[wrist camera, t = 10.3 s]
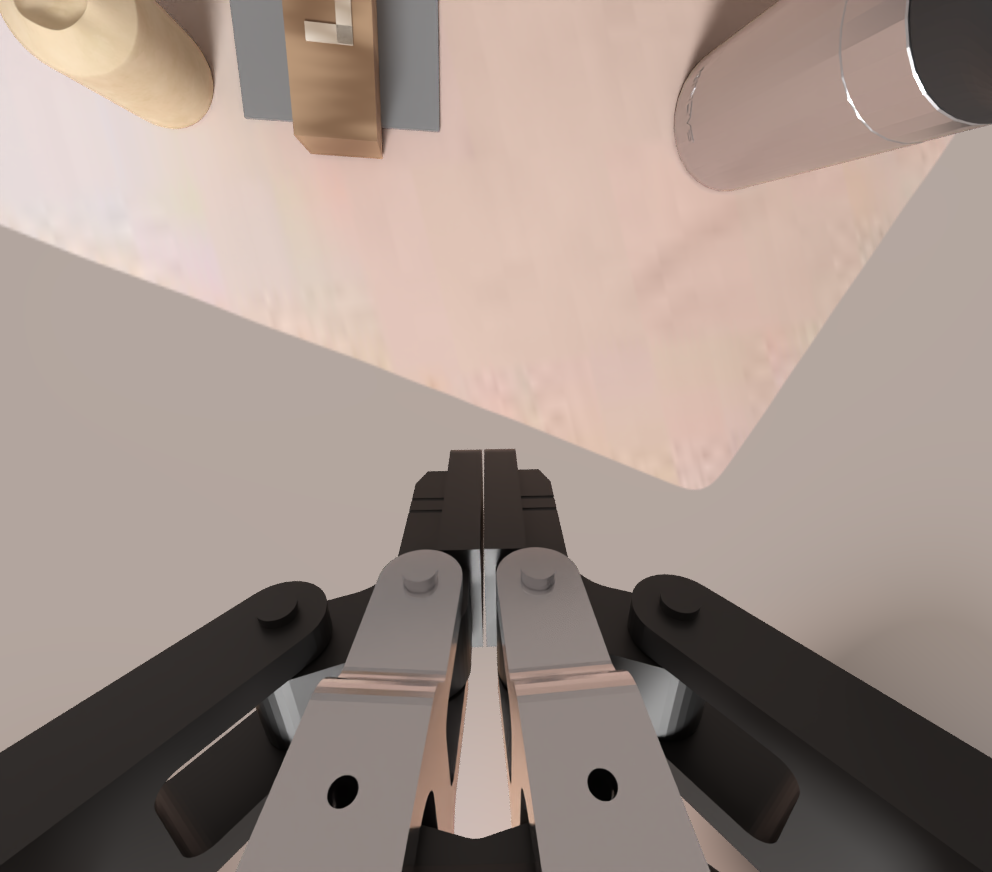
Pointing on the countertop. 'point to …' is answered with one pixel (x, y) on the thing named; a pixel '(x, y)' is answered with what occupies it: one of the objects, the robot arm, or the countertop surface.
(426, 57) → the mat
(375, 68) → the tan rectangular block
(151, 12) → the candle
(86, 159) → the countertop surface
